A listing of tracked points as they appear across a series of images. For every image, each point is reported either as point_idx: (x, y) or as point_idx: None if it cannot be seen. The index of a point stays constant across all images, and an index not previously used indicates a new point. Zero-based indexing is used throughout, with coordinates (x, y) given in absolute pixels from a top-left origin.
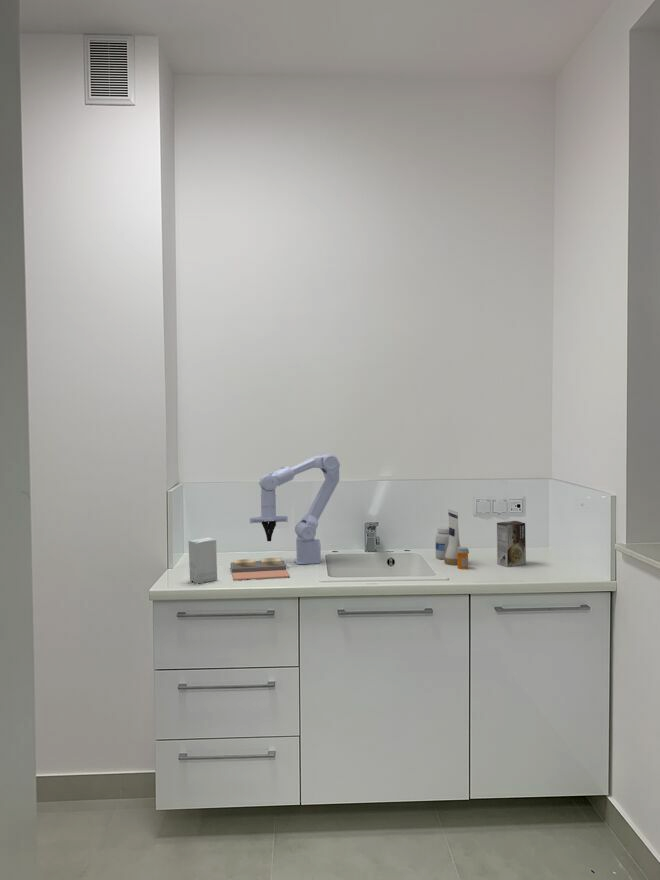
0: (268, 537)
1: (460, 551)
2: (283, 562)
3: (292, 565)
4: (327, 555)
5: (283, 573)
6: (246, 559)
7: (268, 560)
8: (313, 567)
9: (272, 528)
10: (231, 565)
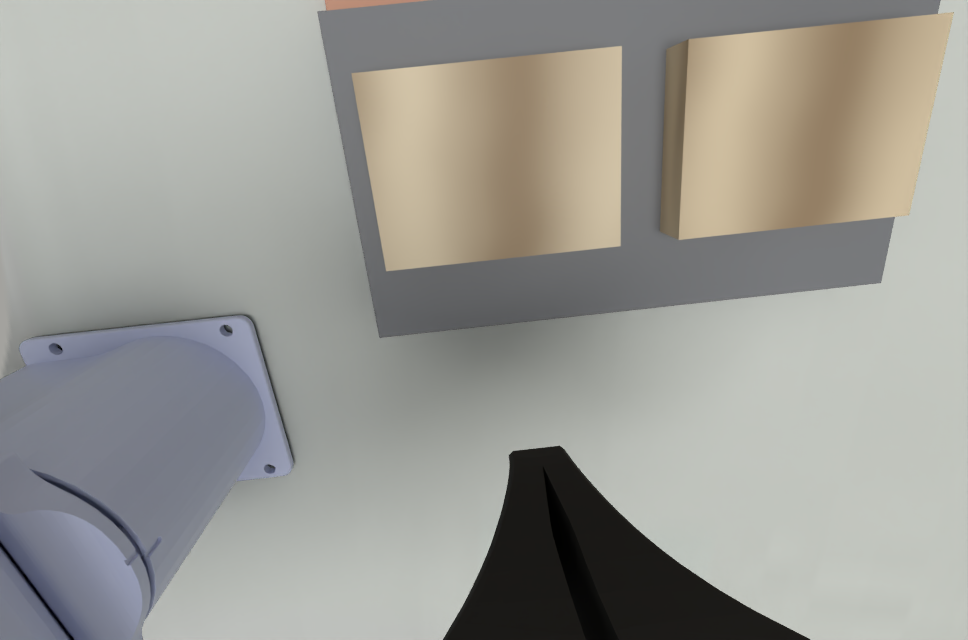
0: (562, 475)
1: None
2: (363, 216)
3: (295, 296)
4: None
5: None
6: (771, 218)
7: (531, 119)
8: (66, 180)
9: (504, 615)
10: None
